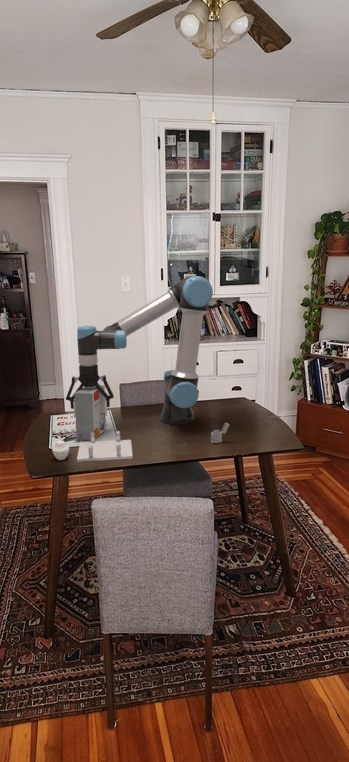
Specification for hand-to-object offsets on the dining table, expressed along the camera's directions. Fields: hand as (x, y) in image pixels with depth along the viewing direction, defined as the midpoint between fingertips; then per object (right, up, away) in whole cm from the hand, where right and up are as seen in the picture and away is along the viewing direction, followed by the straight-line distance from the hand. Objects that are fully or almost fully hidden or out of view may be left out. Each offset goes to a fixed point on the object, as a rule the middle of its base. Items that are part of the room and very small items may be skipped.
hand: (90, 415), depth 203 cm
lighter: (+53, -10, -9) cm, 54 cm away
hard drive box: (0, -8, +2) cm, 9 cm away
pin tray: (+8, -12, -17) cm, 23 cm away
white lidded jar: (-7, -14, -23) cm, 28 cm away
